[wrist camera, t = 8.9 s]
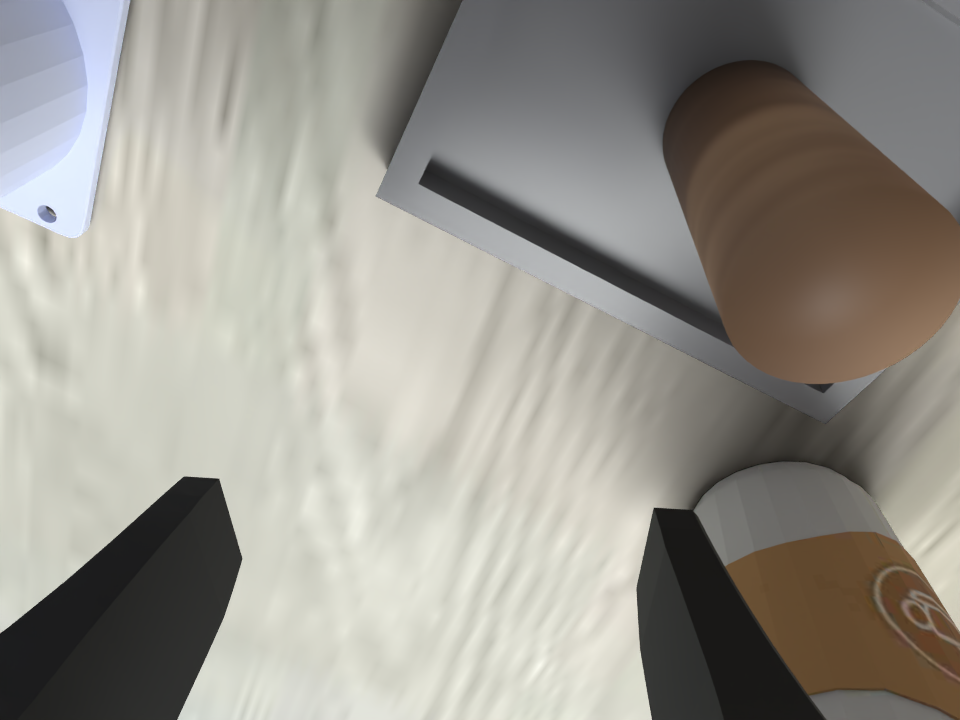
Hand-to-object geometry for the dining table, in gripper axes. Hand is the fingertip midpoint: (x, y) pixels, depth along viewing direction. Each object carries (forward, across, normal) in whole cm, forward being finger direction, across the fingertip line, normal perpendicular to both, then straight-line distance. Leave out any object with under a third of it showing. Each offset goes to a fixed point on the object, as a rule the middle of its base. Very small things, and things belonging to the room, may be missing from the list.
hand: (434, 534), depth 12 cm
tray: (+10, -6, -4) cm, 12 cm away
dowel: (+9, -6, -4) cm, 12 cm away
